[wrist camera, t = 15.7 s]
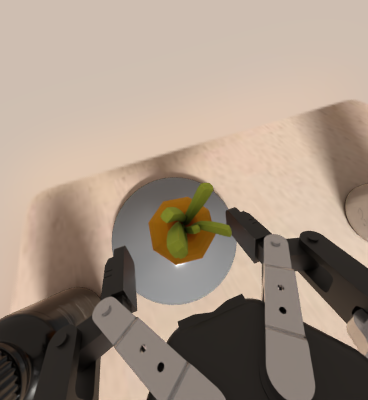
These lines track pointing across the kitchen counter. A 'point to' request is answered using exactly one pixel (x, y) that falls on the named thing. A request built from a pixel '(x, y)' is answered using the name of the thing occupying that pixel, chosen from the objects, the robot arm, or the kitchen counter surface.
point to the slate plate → (160, 266)
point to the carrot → (185, 227)
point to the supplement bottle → (37, 338)
